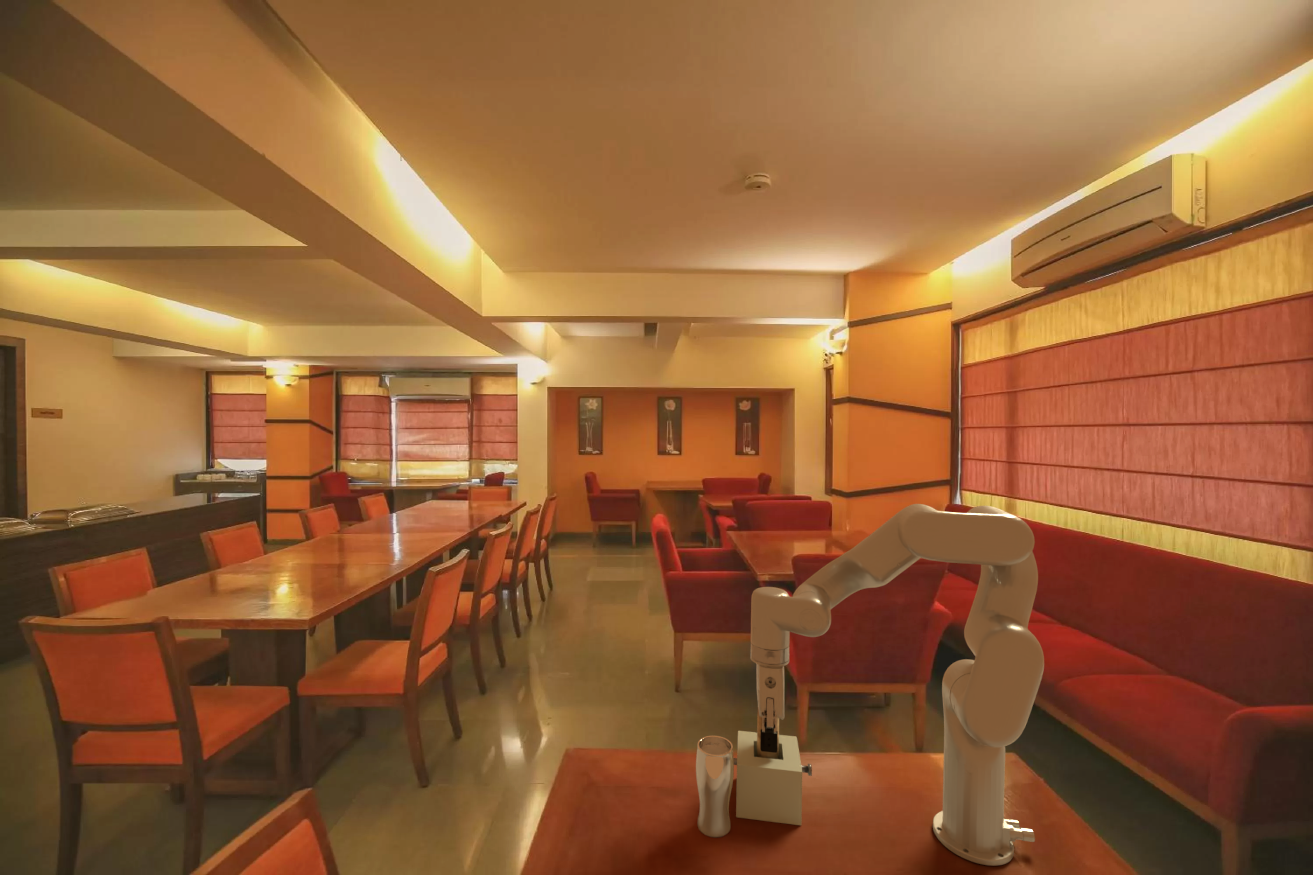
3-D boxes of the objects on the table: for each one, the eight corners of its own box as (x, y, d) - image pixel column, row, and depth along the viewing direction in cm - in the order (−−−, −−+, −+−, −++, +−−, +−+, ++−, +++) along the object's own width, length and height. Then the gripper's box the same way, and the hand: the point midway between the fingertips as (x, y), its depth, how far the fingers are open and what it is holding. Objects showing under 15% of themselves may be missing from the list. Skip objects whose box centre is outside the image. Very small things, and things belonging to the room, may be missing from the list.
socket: (795, 784, 114) (796, 736, 114) (801, 825, 102) (802, 771, 102) (737, 777, 116) (738, 730, 116) (736, 816, 104) (736, 764, 104)
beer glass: (731, 842, 97) (732, 758, 97) (692, 835, 99) (693, 753, 99) (734, 815, 104) (735, 737, 104) (697, 809, 106) (698, 732, 105)
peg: (777, 754, 110) (778, 705, 110) (779, 767, 106) (779, 715, 106) (756, 752, 111) (757, 703, 111) (757, 764, 107) (757, 713, 107)
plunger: (777, 775, 107) (778, 763, 107) (777, 768, 110) (777, 756, 110) (811, 779, 106) (812, 767, 106) (810, 771, 109) (810, 759, 108)
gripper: (792, 671, 100) (790, 772, 100) (786, 637, 116) (784, 723, 116) (750, 668, 101) (749, 767, 101) (750, 635, 117) (749, 720, 118)
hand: (768, 742), depth 109 cm, fingers closed on peg, 4 cm apart
